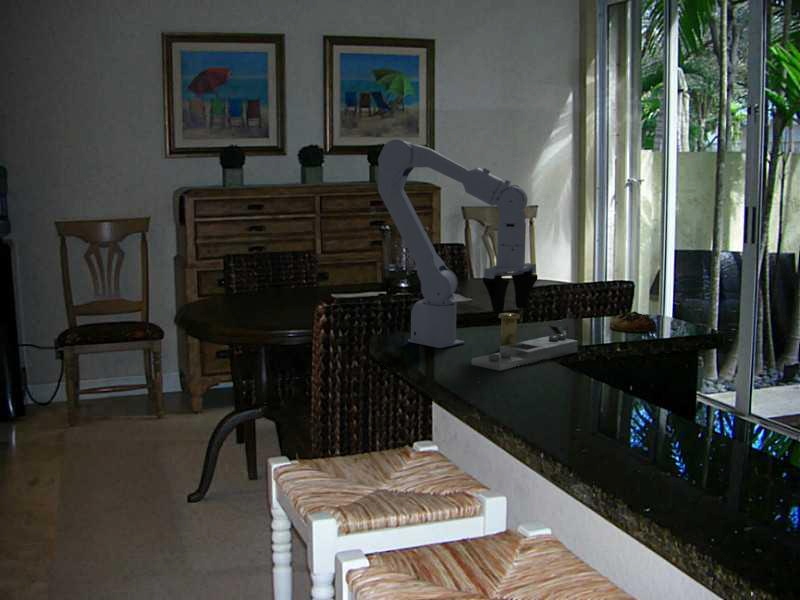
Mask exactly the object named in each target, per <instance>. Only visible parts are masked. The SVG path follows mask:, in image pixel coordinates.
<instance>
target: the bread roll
mask: <svg viewBox="0 0 800 600" xmlns="http://www.w3.org/2000/svg"><path fill="white" fill-rule="evenodd" d="M609 326H610V328H611V329H612V330H613V329H614V331H618V332H624V333H643V332H644V333H645V332H647V333H648V332H650V333H651V332H654V331H655V330H656V329H657V323H656V321H655V320H654V319H653V318H652V317H650V316H649V315H647V314H643V313H639V312H637V311H632V312H630V311H629V312H627V313H624V312H623V313H619V314H618V315H616V316H613V318H612V319H611V320H610V322H609Z"/></svg>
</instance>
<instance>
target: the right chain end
mask: <svg viewBox="0 0 800 600" xmlns="http://www.w3.org/2000/svg"><path fill="white" fill-rule="evenodd" d="M578 346H579V340H575V339H573V340H571V339H566V333H565V334H564V333H557V334H555V335H549V336H544V337H539V338H534V339H529V340H525V341H519V342H516V343H514V344H509V345H505V346H501V345H500V346H499V352H500V353H501V352H510V353H511V355H515V356H520V357H525V358H530V357H535V356H539V355H543V354H547V353H550V359H549V360H551V359H555V358H557V357H559V358H560V357H563V356H566V355H567V356H568V355H570V354H571V355H572V354H575V353H578V348H579V347H578Z"/></svg>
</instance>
